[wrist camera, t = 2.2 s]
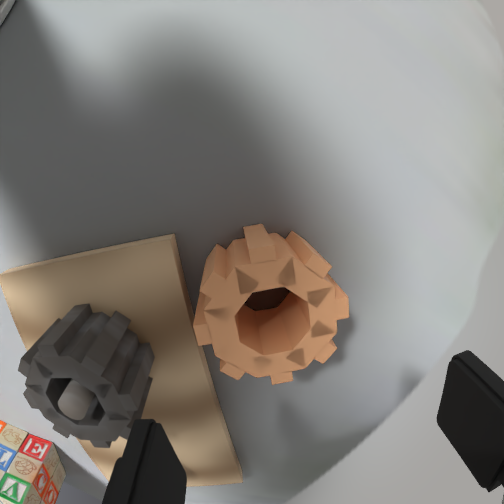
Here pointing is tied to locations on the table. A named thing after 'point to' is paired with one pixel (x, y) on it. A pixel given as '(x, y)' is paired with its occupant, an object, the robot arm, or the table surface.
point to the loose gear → (270, 320)
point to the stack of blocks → (28, 468)
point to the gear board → (154, 321)
